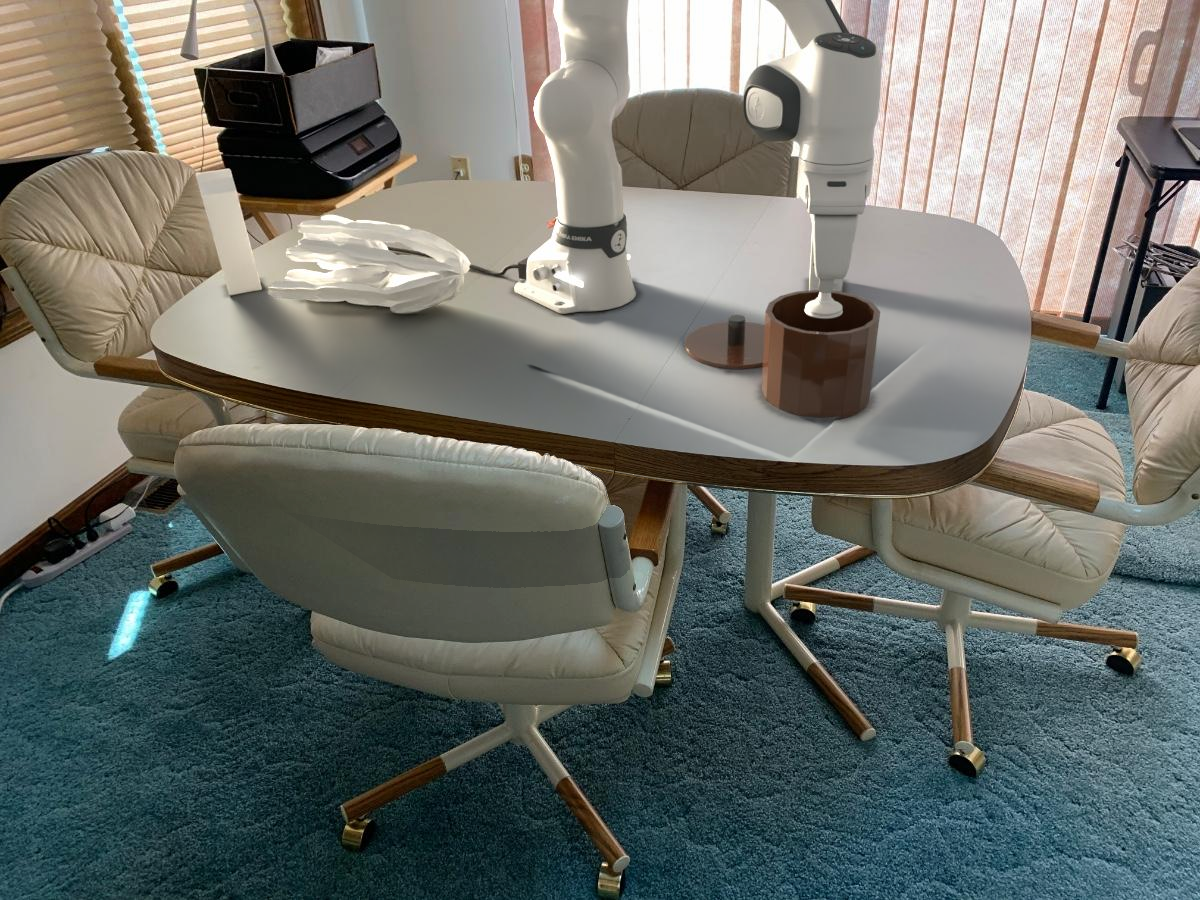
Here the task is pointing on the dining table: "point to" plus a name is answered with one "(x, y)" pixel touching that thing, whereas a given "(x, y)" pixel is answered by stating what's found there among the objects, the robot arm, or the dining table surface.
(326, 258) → the white jagged lobed bundle
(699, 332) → the lid
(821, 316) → the chess piece
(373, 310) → the dining table surface
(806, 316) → the crock
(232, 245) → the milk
